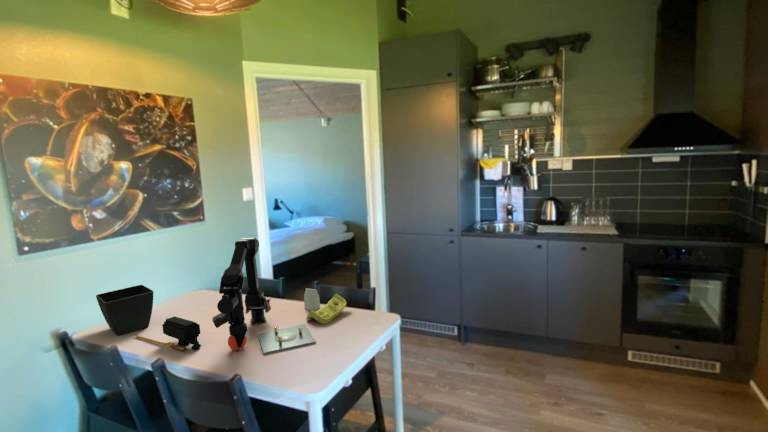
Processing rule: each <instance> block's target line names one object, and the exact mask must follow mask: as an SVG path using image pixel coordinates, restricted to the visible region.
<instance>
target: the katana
mask: <svg viewBox="0 0 768 432" xmlns="http://www.w3.org/2000/svg"><path fill="white" fill-rule="evenodd" d="M134 336H135V338H137V339H139V340H142V341H146V342H148V343H152V344H156V345H159V346H163V347H164V348H168V349H171V350H174V349H176V350H181V351H184V352H185V351H187V348H186V347H184V346H180V345H175V343H174V342H171V341H168V342H162V341H159V340H155V339H151V338H148V337H144V336H141V335H138V334H134Z"/></svg>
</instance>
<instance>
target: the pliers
mask: <svg viewBox="0 0 768 432" xmlns="http://www.w3.org/2000/svg"><path fill="white" fill-rule="evenodd" d="M265 298H266V296H265ZM271 298H272V297H271V296H269V297H267V298H266V300H267V301H268V308H266V309H265V310H264V313H265V312H268V311H270V310H271V304H270V299H271ZM249 312H251V310H248V311H247V310H246V309H245V313H249Z"/></svg>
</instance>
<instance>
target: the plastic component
mask: <svg viewBox="0 0 768 432" xmlns="http://www.w3.org/2000/svg"><path fill="white" fill-rule="evenodd" d="M346 306H347V301H346V299H345V298H344V297H343V296H341V295H339V294H338V293H337V294H336V293H335V294H334V295H333V296H332V297H331V298H330V300H328V302H326V304H325V305H323V306H322V307H320V309H318V310H317V311H312V310H309V311H308V314H307V316H306V318H305V320H307V321H312V319H314V320H315V321H317V322H318V323H320V324H322V325H326V324H328V323H329V322H331V321H332V320H334V319H335V318H336V317H339V315H340V313H341V312H342V311H343V310H344V309H345V308H346Z"/></svg>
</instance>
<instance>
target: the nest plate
mask: <svg viewBox="0 0 768 432" xmlns="http://www.w3.org/2000/svg"><path fill="white" fill-rule="evenodd" d="M298 327H301V328H302V335H299V328H298ZM277 330H278V334H277V335H275V330H274V329H273V330H268V331H263V332H258V333H257V337H258V340H259V343H260V347H261V350H262V353H263V356H265V355H269V354H273V353H279V352H283V351H288V350H291V349H296V348H300V347H305V346H310V345H315V344H317V341H316V340H315V338H314V336H313V335H312V333H311V332H310V330H309V328H308V327H307V325H306V324H305V323H303V324H298V325H294V326H288V327H283V328H277ZM278 336H281V338H282V344H279V340H278Z"/></svg>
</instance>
